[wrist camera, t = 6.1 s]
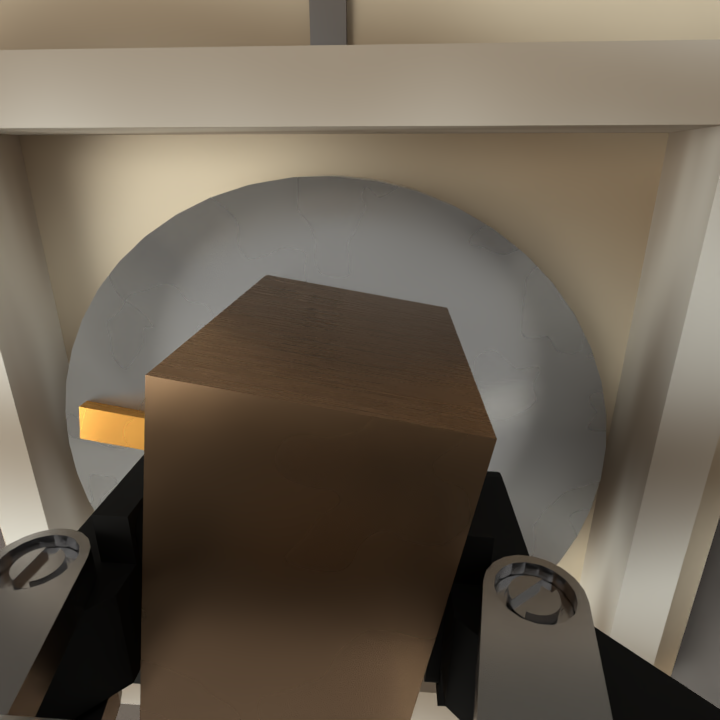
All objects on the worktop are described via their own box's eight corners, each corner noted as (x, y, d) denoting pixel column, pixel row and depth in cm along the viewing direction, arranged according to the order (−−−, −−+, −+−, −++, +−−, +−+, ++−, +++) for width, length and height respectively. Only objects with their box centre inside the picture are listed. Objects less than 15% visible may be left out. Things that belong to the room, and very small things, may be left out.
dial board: (636, 672, 17) (693, 790, 14) (73, 640, 18) (4, 741, 15) (830, -38, 10) (1036, -135, 7) (-106, -16, 11) (-308, -90, 8)
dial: (660, 231, 11) (1061, 324, 4) (505, 641, 15) (587, 992, 9) (96, 127, 11) (-353, 66, 4) (105, 568, 15) (-111, 866, 9)
